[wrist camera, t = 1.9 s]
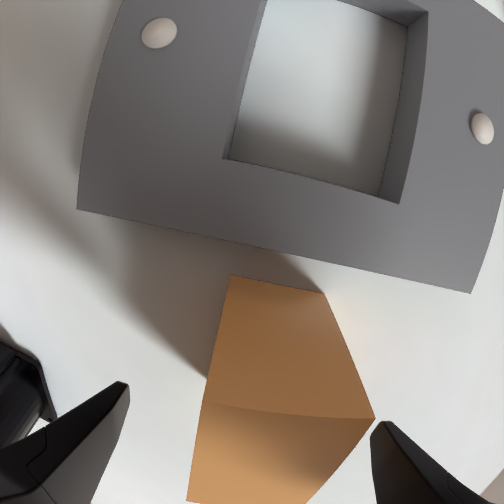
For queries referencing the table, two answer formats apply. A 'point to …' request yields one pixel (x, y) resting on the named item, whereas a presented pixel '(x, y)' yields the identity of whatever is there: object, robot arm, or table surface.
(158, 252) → the table surface
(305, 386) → the plug
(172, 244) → the table surface
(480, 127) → the socket board
